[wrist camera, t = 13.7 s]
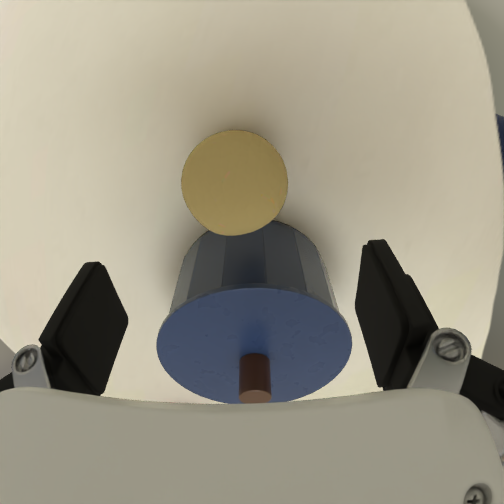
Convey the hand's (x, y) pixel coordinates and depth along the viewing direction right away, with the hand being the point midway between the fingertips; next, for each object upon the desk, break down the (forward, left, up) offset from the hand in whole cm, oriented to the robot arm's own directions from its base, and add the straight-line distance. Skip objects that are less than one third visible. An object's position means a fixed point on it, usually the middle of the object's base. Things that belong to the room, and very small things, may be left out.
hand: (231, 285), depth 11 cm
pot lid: (0, +13, -7) cm, 15 cm away
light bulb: (0, 0, -17) cm, 17 cm away
